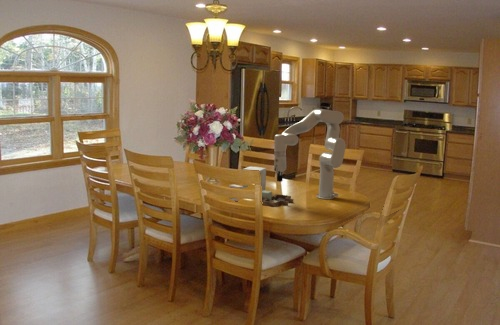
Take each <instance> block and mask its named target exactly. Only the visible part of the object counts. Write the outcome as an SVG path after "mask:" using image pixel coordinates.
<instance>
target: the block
mask: <svg viewBox="0 0 500 325" xmlns="http://www.w3.org/2000/svg"><path fill="white" fill-rule="evenodd" d="M272 196H273V191H271V190H266V189H265V190H264V191H262V198H268V199H270V202H272V201H273V200H272Z"/></svg>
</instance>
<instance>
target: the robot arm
mask: <svg viewBox="0 0 500 325" xmlns="http://www.w3.org/2000/svg"><path fill="white" fill-rule="evenodd" d="M344 118H345V117H344V114H343V112H341V111H339V110H330V109H324V108H314V109H312V110H311V111H310V112H309V113H308V114H307V115H306V116H304V118H302V119H301V120H300V121H299V122H296V123H294V124H292V125H290V126H289V127H288V128H286V129H285V130H284V131H283V132H282V133H281V134H280V133H278V134H275V135H274V140H273V141H274V144H273V146H274V147H273V148H274V151H273V152H274V160H273V171H274V172H275V174H276V181H277V182H281V183H282V182H283V175H284V171H286V170H287V146H296V145H298V143H299V140H300V138H299V136H298V135H299V134H303V133H306V132H310V131H311V130H312V129H313V128H314V127H315V126H317V124H319V123H325V124H326V126H327V127H326V128H327V130H326V135H325V136H326V137H325V140H324V148H325V149H326V150H328V151H324V152H322V153H321V154H320V156H319V157H318V161H319V162H318V163H319V182H318V184H319V185H318V194H316V198H318V199H320V200H321V199H323V200H333V199H335V197H336V198H337V197H338V198H339V193H335V191H334V178H335V177H334V176H335V171H334V169H337V168H339V167H341V166H342V164H343V161H344V156H345V152H346V147H347V145H346V141H345V139H343V138H341V137H340V134H341V127H340V124H342V122H343V121H344ZM329 151H331V152H329Z"/></svg>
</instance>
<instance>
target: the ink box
mask: <svg viewBox="0 0 500 325" xmlns="http://www.w3.org/2000/svg"><path fill="white" fill-rule="evenodd" d="M229 188H240V189H243V186H242V185H238V184H229V185H228V189H229ZM229 198H230V197H229V196H228V199H229ZM230 199H231V200H233V201H235V202H238V201H239V199H236V198H230Z"/></svg>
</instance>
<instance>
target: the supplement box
mask: <svg viewBox="0 0 500 325" xmlns="http://www.w3.org/2000/svg"><path fill="white" fill-rule="evenodd" d="M243 170H259V171H260V173H261V186H262V191H264V190H265V191H266V186H267V185H266V183H267V182H266V181H267V167H260V166H251V165H250V166H248V167H245V168H242V171H243ZM241 186H243V188H246V187H248V185H242V184H241Z"/></svg>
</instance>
